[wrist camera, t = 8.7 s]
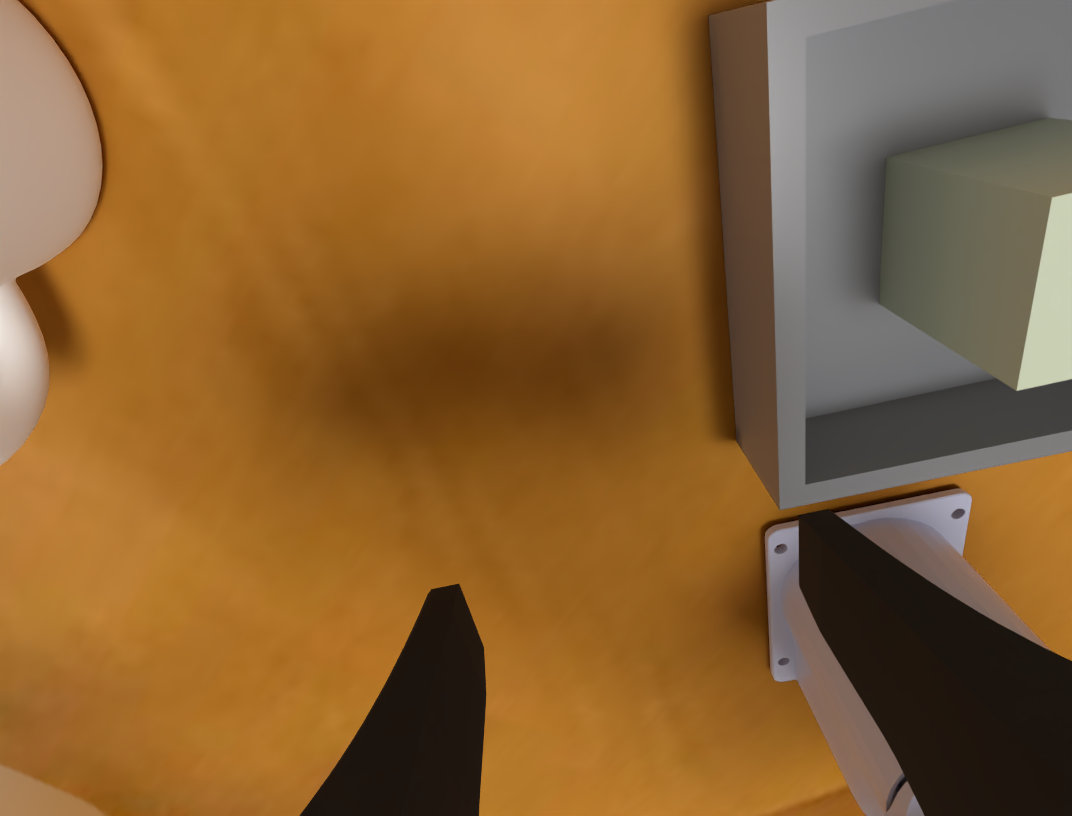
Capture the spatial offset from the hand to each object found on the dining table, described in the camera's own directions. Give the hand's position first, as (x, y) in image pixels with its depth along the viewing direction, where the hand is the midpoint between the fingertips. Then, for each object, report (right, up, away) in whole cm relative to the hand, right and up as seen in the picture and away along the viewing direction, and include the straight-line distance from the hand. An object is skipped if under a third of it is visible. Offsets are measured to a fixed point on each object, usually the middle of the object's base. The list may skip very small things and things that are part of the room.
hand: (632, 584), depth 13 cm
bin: (+11, +10, +6) cm, 16 cm away
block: (+11, +9, +6) cm, 15 cm away
